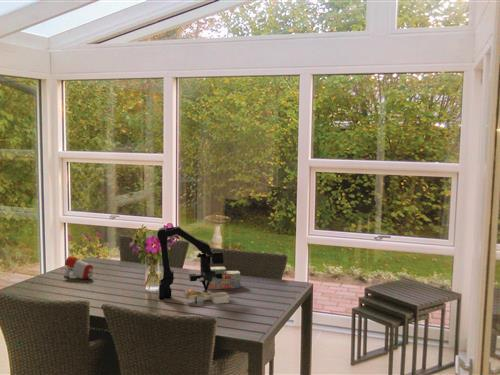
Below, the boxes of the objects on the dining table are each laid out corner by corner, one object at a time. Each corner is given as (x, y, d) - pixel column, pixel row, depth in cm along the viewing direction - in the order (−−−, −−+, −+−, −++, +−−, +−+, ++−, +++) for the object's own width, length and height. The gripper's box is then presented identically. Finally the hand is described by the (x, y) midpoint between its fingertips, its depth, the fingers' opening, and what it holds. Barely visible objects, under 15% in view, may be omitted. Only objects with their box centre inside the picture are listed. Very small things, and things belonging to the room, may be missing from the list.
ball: (187, 295, 283) (190, 289, 283) (186, 293, 286) (189, 287, 286) (193, 297, 284) (196, 291, 284) (192, 295, 287) (195, 289, 287)
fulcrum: (195, 305, 282) (195, 297, 281) (192, 299, 291) (192, 292, 290) (204, 304, 283) (204, 296, 283) (200, 299, 292) (201, 291, 291)
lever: (186, 299, 282) (187, 293, 281) (182, 291, 295) (183, 286, 294) (211, 300, 286) (212, 294, 286) (207, 292, 299) (207, 287, 298)
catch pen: (214, 303, 285) (214, 297, 285) (211, 298, 293) (211, 293, 293) (229, 302, 287) (229, 296, 287) (225, 297, 296) (225, 292, 295)
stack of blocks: (238, 285, 321) (238, 265, 320) (240, 288, 315) (240, 268, 314) (204, 286, 317) (204, 266, 315) (205, 289, 311) (205, 269, 309)
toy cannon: (86, 287, 322) (90, 266, 320) (61, 276, 329) (65, 255, 326) (92, 284, 328) (96, 264, 325) (67, 273, 334) (71, 253, 332)
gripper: (191, 269, 285) (192, 297, 287) (224, 266, 290) (225, 293, 292) (188, 264, 295) (188, 291, 297) (220, 261, 301) (220, 287, 302)
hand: (205, 291), depth 297 cm, fingers closed, pressing on lever
